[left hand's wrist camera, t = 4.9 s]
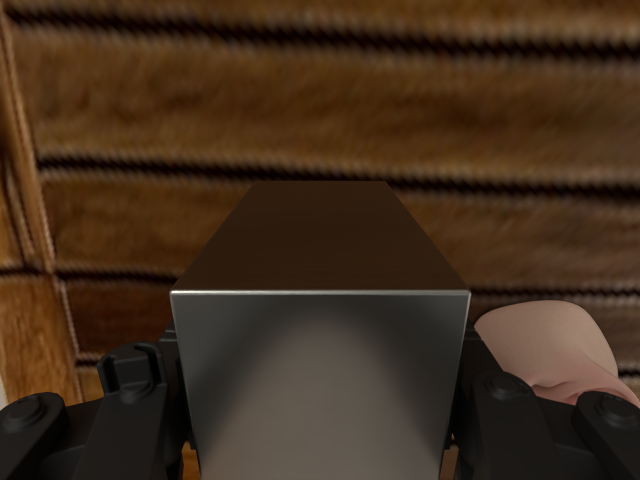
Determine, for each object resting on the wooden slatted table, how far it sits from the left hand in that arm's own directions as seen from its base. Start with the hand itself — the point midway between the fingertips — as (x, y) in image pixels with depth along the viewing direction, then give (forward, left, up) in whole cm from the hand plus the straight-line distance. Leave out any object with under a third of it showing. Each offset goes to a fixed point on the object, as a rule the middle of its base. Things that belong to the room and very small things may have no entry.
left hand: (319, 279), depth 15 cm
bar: (0, +7, -1) cm, 7 cm away
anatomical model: (-18, +14, -12) cm, 26 cm away
